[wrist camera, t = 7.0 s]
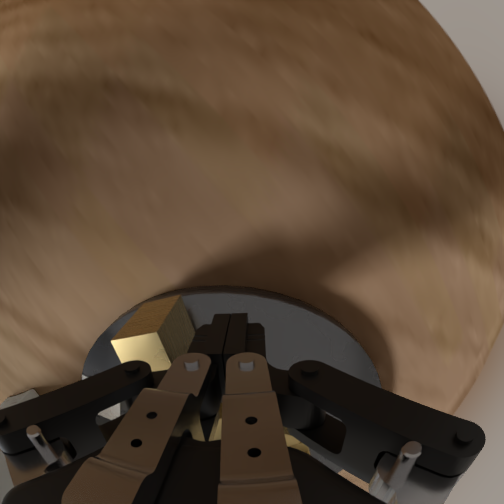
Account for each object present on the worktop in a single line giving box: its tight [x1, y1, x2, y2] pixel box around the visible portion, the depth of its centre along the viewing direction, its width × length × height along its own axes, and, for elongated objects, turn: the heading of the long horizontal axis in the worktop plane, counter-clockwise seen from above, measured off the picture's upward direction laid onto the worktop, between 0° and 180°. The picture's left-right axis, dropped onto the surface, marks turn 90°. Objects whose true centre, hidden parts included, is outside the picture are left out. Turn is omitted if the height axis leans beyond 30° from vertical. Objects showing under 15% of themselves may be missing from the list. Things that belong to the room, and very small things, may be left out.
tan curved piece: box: [111, 294, 311, 455], centre depth 14 cm, size 16×11×4 cm, turn 15°
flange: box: [82, 285, 381, 473], centre depth 14 cm, size 22×22×7 cm
